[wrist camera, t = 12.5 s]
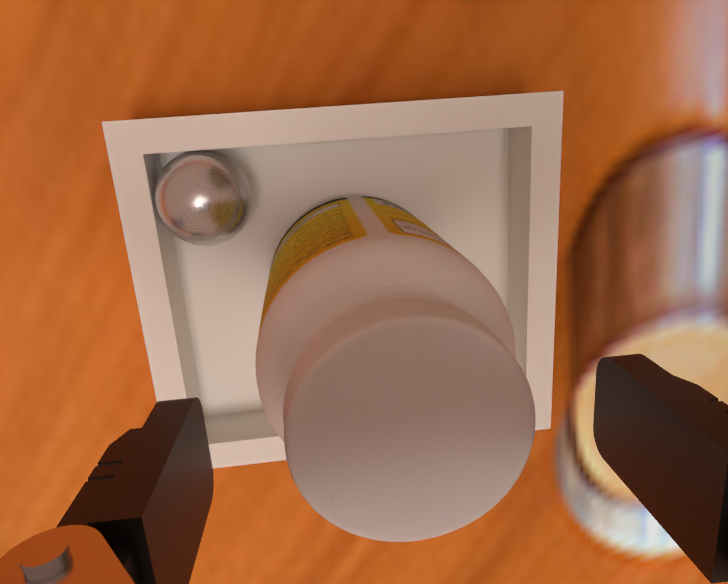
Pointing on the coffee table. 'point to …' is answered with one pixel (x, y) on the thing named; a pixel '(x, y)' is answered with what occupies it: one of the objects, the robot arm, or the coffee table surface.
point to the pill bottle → (390, 373)
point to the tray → (324, 182)
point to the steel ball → (203, 197)
